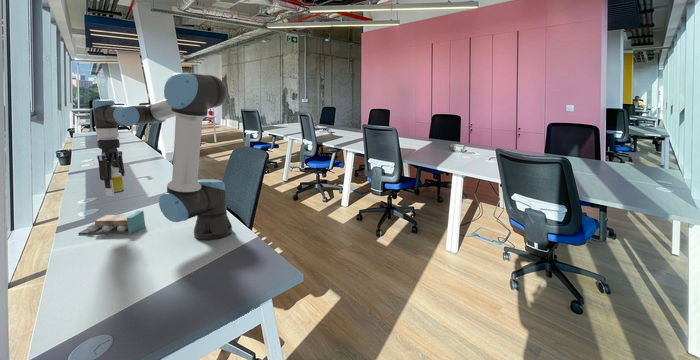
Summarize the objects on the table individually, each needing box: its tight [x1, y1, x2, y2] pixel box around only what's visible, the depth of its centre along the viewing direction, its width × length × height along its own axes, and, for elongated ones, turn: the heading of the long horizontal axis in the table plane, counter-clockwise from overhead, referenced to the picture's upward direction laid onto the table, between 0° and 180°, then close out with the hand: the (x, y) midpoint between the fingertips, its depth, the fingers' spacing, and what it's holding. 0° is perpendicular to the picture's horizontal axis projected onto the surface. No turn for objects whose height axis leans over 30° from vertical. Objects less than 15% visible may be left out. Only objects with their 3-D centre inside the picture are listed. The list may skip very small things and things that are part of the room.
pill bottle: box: [111, 167, 125, 196], centre depth 151 cm, size 6×6×11 cm
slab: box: [94, 214, 132, 225], centre depth 155 cm, size 13×8×2 cm, turn 94°
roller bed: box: [77, 210, 146, 236], centre depth 155 cm, size 22×10×7 cm, turn 94°
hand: (115, 193), depth 152 cm, fingers closed on pill bottle, 6 cm apart
